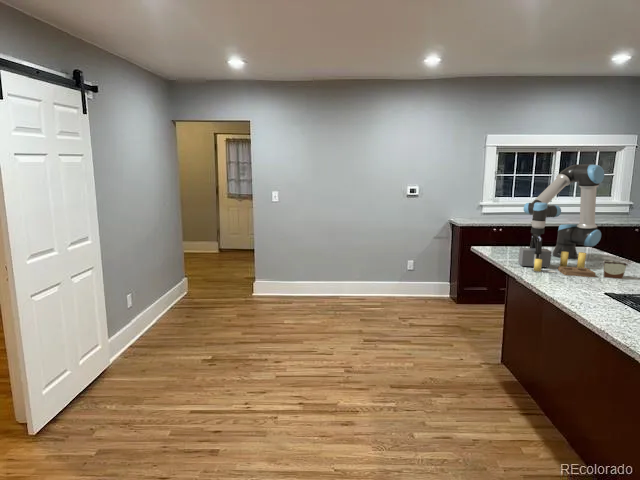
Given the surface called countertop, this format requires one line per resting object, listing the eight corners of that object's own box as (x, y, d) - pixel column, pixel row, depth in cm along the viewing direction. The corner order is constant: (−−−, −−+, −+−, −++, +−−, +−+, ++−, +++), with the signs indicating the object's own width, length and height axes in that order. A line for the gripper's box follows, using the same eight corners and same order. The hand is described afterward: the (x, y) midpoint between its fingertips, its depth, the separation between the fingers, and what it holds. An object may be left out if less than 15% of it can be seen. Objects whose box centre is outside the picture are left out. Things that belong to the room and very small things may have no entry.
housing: (518, 262, 275) (519, 247, 273) (545, 264, 272) (547, 248, 270) (521, 265, 267) (523, 250, 265) (549, 267, 264) (551, 251, 262)
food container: (622, 276, 248) (624, 260, 246) (625, 279, 242) (628, 262, 240) (597, 274, 252) (600, 258, 250) (600, 277, 246) (603, 260, 244)
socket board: (557, 270, 261) (558, 266, 260) (586, 272, 258) (586, 268, 257) (565, 275, 249) (565, 271, 249) (594, 277, 246) (595, 273, 246)
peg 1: (558, 266, 270) (560, 251, 269) (565, 266, 270) (567, 251, 268) (560, 268, 267) (562, 252, 265) (567, 268, 266) (569, 252, 264)
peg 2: (575, 267, 269) (577, 252, 267) (582, 267, 268) (584, 252, 266) (578, 269, 265) (580, 253, 263) (585, 269, 264) (587, 253, 262)
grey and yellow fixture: (531, 269, 260) (532, 258, 259) (554, 271, 258) (556, 259, 256) (534, 272, 255) (535, 260, 254) (557, 273, 253) (558, 261, 252)
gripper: (526, 224, 276) (523, 258, 280) (536, 229, 255) (532, 266, 259) (539, 225, 275) (535, 259, 279) (550, 230, 254) (545, 266, 258)
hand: (534, 262), depth 269 cm, fingers open, 9 cm apart
